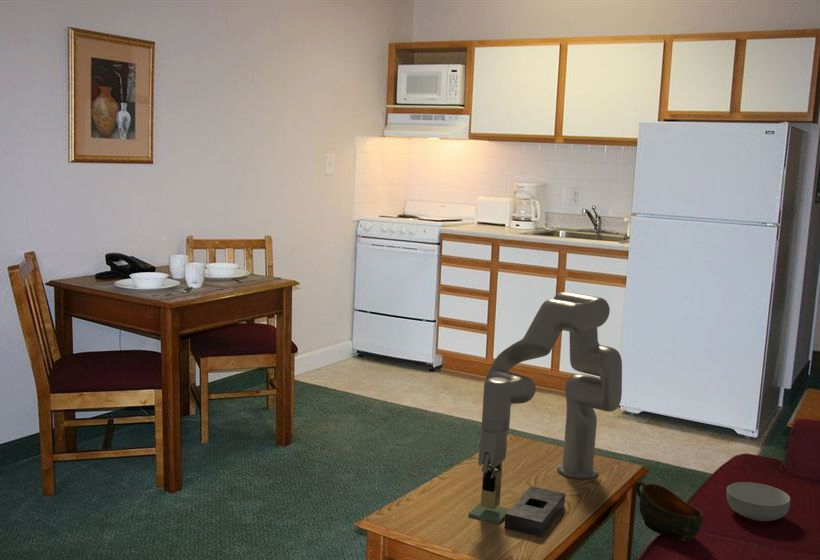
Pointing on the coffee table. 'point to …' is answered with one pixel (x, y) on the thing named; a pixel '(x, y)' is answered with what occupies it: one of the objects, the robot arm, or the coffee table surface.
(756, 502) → the cereal bowl
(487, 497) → the brass plug
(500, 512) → the green mat
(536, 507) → the dark square-hole plate
